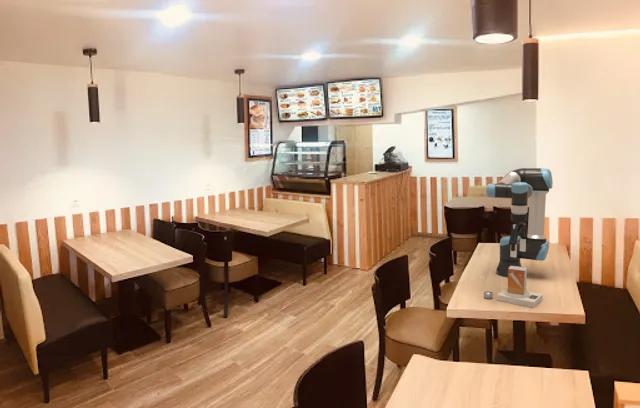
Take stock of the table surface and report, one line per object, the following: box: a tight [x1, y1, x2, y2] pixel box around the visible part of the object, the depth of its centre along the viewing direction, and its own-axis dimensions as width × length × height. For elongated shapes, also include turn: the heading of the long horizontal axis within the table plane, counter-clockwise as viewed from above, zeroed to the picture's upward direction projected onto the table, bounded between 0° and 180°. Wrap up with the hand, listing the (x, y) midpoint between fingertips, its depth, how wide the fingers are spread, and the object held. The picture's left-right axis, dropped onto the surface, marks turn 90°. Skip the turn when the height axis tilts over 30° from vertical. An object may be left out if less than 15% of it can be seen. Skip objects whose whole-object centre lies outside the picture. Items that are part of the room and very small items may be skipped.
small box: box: [507, 266, 528, 295], centre depth 234 cm, size 8×6×13 cm
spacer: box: [483, 290, 494, 300], centre depth 239 cm, size 4×4×3 cm
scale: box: [496, 287, 544, 309], centre depth 235 cm, size 18×14×4 cm
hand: (518, 254), depth 232 cm, fingers open, 13 cm apart
